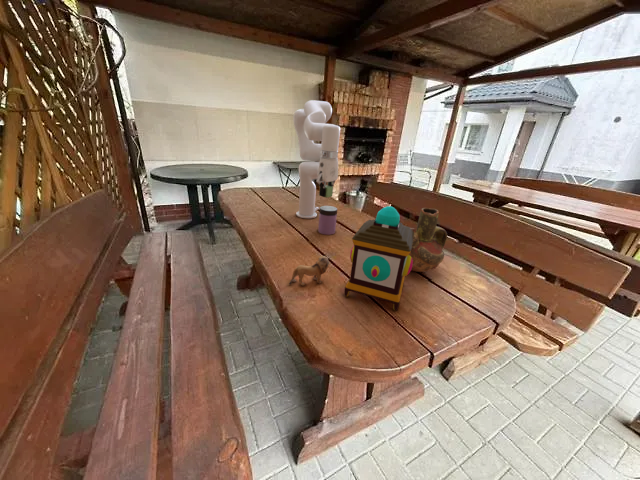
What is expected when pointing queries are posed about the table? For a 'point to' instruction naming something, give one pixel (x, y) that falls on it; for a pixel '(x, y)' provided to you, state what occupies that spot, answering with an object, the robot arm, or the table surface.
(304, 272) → the lion figurine
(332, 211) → the jar lid
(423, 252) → the ceramic vessel
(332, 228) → the jar
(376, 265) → the decorative lantern
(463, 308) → the table surface
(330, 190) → the block
